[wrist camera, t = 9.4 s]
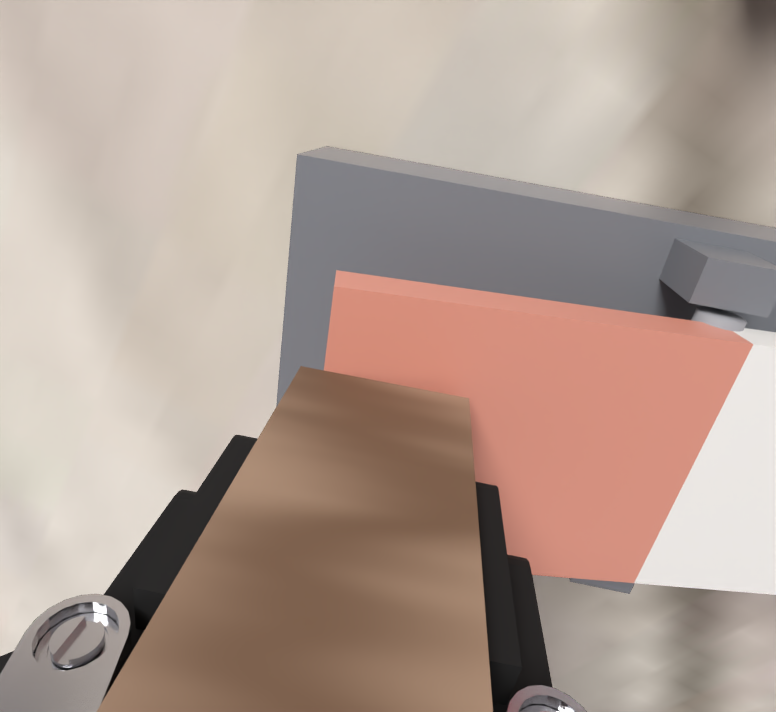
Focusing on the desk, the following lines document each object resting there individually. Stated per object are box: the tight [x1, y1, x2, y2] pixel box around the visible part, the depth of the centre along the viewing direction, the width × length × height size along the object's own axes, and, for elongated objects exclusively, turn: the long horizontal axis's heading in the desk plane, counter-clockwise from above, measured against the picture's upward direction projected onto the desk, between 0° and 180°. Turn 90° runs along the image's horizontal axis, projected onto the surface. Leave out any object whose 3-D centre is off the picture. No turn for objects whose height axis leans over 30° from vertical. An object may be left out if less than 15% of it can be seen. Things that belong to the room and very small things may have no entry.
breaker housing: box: [276, 146, 776, 594], centre depth 18 cm, size 24×12×6 cm, turn 81°
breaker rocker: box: [324, 270, 776, 595], centre depth 15 cm, size 20×8×2 cm, turn 81°
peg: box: [97, 366, 493, 712], centre depth 9 cm, size 4×4×9 cm
